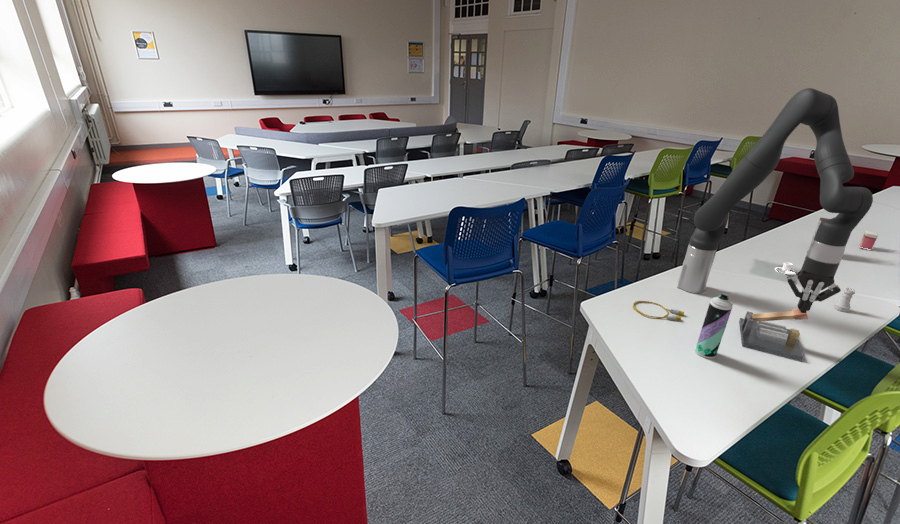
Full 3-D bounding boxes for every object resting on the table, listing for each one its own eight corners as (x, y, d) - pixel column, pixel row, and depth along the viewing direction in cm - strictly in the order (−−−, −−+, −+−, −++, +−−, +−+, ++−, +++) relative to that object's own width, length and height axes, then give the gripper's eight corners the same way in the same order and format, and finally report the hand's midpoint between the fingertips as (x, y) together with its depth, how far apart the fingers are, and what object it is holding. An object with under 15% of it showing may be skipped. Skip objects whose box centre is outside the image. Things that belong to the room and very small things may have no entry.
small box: (858, 245, 216) (865, 230, 213) (870, 247, 214) (877, 232, 210) (859, 248, 212) (866, 233, 209) (871, 250, 210) (878, 235, 207)
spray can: (691, 348, 133) (709, 289, 125) (708, 347, 134) (727, 289, 125) (701, 359, 128) (721, 299, 120) (719, 358, 129) (740, 298, 120)
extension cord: (669, 329, 143) (671, 324, 142) (625, 309, 154) (627, 304, 154) (687, 317, 150) (689, 312, 149) (644, 299, 161) (645, 294, 161)
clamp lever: (747, 323, 138) (746, 318, 137) (746, 318, 141) (745, 312, 140) (808, 319, 130) (807, 314, 129) (805, 313, 133) (804, 308, 132)
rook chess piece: (845, 307, 159) (855, 287, 156) (851, 313, 155) (861, 293, 152) (831, 305, 160) (839, 285, 157) (836, 311, 156) (845, 291, 153)
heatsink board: (742, 346, 135) (748, 327, 132) (738, 321, 148) (745, 304, 145) (801, 361, 129) (810, 342, 126) (793, 334, 142) (800, 316, 139)
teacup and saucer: (796, 279, 180) (800, 270, 179) (773, 273, 185) (776, 264, 183) (797, 271, 187) (800, 263, 185) (774, 266, 191) (777, 257, 189)
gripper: (797, 256, 124) (777, 310, 131) (857, 266, 118) (833, 322, 125) (792, 248, 130) (774, 299, 137) (849, 257, 124) (827, 310, 131)
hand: (802, 310), depth 131 cm, fingers closed
